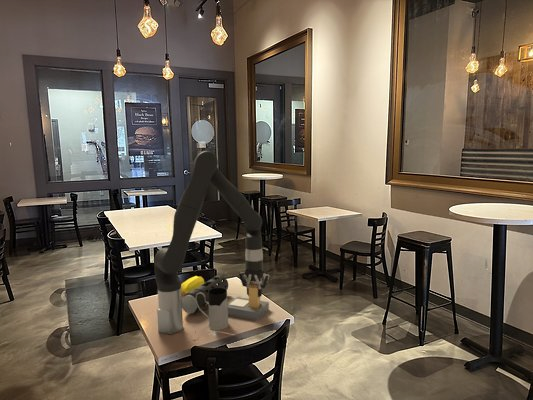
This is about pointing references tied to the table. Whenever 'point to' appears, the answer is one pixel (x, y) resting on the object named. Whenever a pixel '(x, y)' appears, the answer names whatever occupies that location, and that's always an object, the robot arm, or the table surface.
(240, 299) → the block
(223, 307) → the white pitcher
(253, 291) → the plug
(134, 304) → the table surface
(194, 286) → the yellow banana
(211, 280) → the muzzle brake
